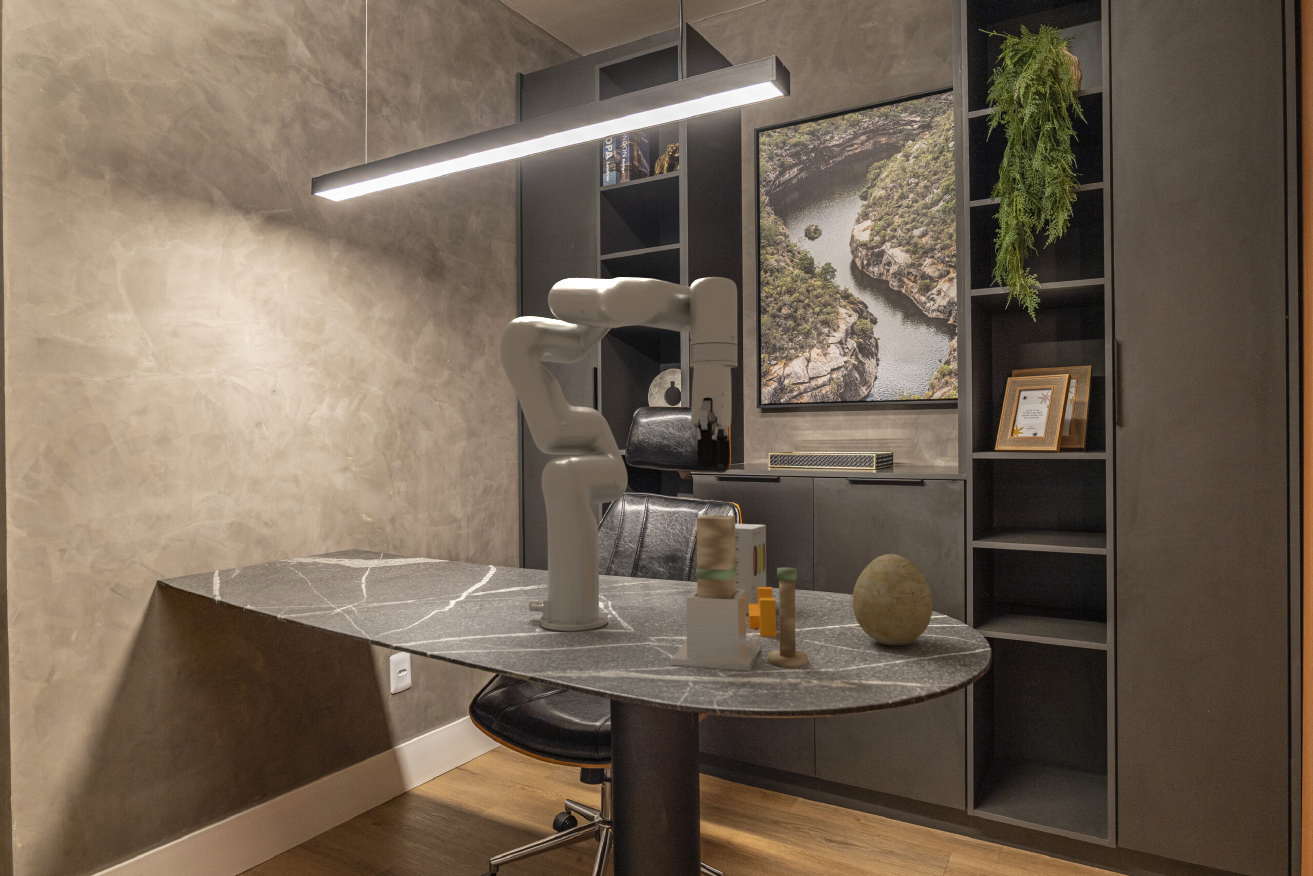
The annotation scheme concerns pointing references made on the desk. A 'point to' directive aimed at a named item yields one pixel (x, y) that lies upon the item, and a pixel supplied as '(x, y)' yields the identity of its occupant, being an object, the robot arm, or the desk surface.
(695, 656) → the sleeve
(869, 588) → the fossilized egg
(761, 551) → the supplement box
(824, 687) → the desk surface
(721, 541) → the column
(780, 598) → the marker post
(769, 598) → the pipe clamp
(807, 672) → the desk surface
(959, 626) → the desk surface
